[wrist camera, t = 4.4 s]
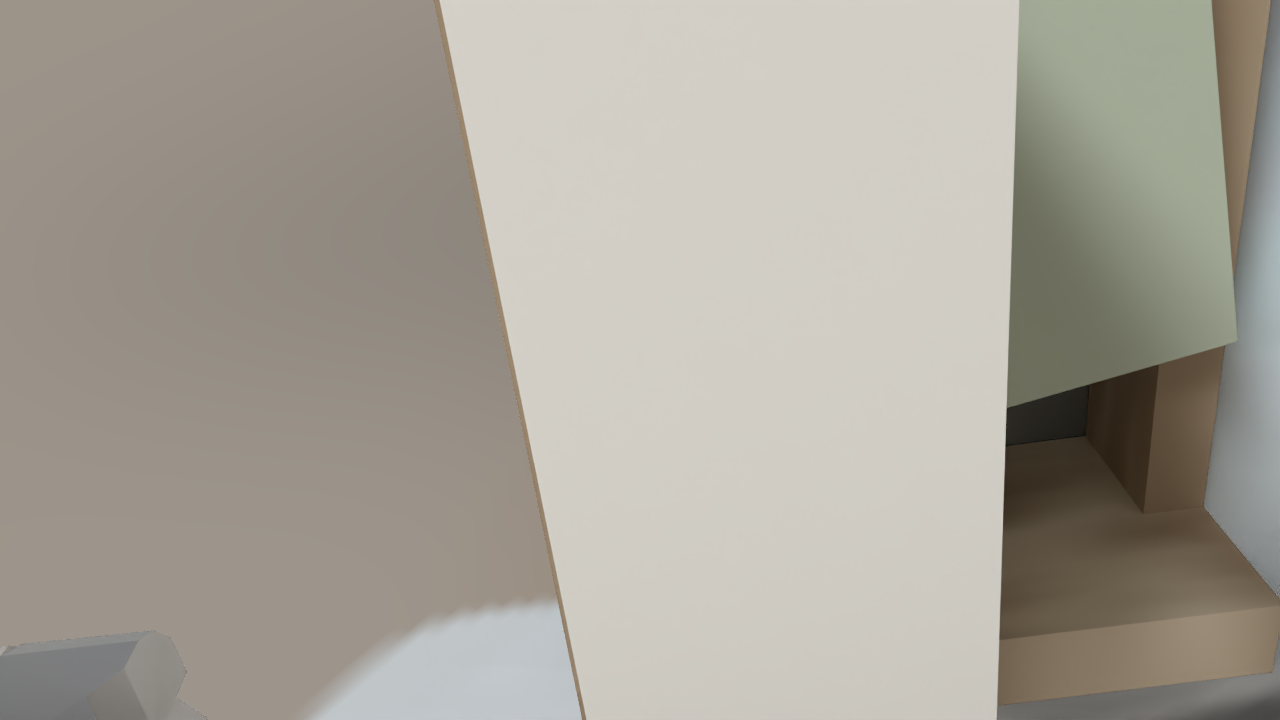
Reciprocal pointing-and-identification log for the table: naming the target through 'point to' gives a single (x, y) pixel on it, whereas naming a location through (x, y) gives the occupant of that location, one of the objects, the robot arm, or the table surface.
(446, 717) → the table surface
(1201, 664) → the rack
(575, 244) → the off-white rectangular board
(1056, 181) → the offcut top
